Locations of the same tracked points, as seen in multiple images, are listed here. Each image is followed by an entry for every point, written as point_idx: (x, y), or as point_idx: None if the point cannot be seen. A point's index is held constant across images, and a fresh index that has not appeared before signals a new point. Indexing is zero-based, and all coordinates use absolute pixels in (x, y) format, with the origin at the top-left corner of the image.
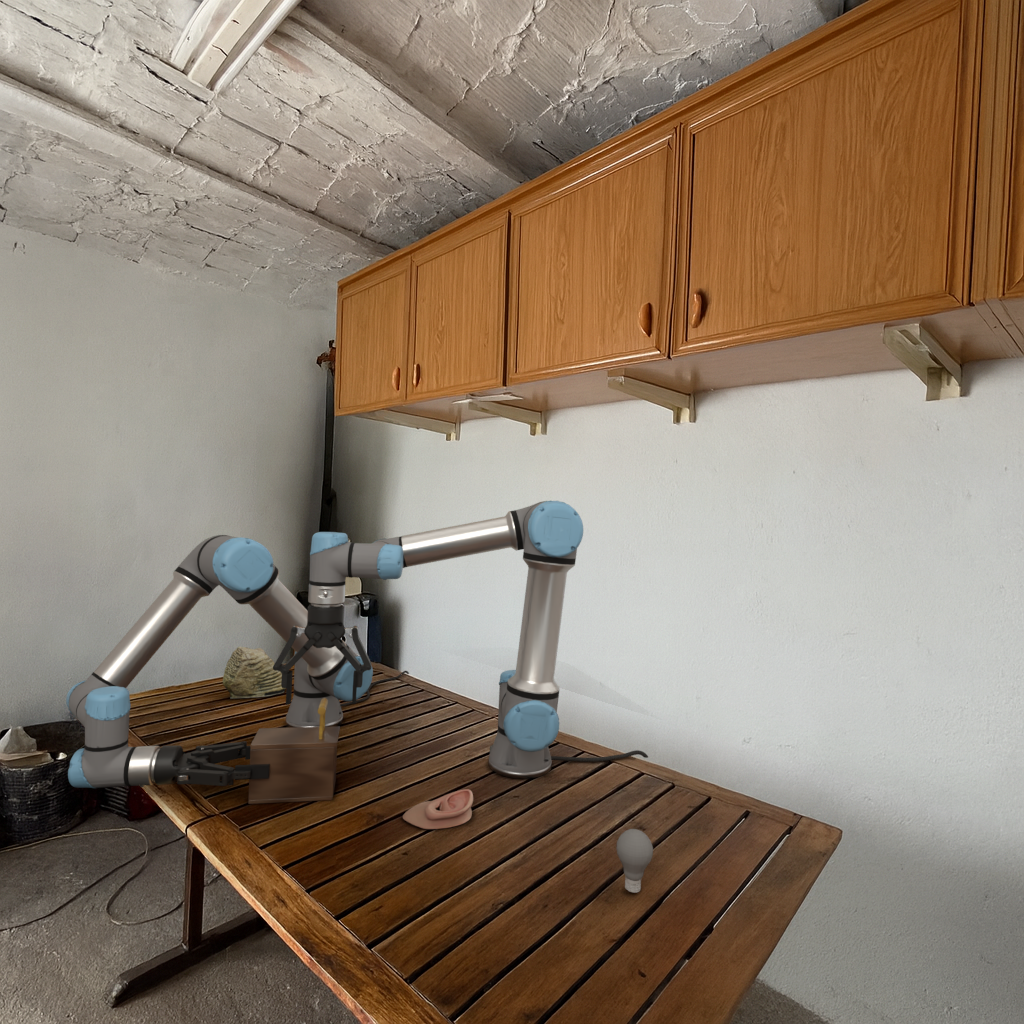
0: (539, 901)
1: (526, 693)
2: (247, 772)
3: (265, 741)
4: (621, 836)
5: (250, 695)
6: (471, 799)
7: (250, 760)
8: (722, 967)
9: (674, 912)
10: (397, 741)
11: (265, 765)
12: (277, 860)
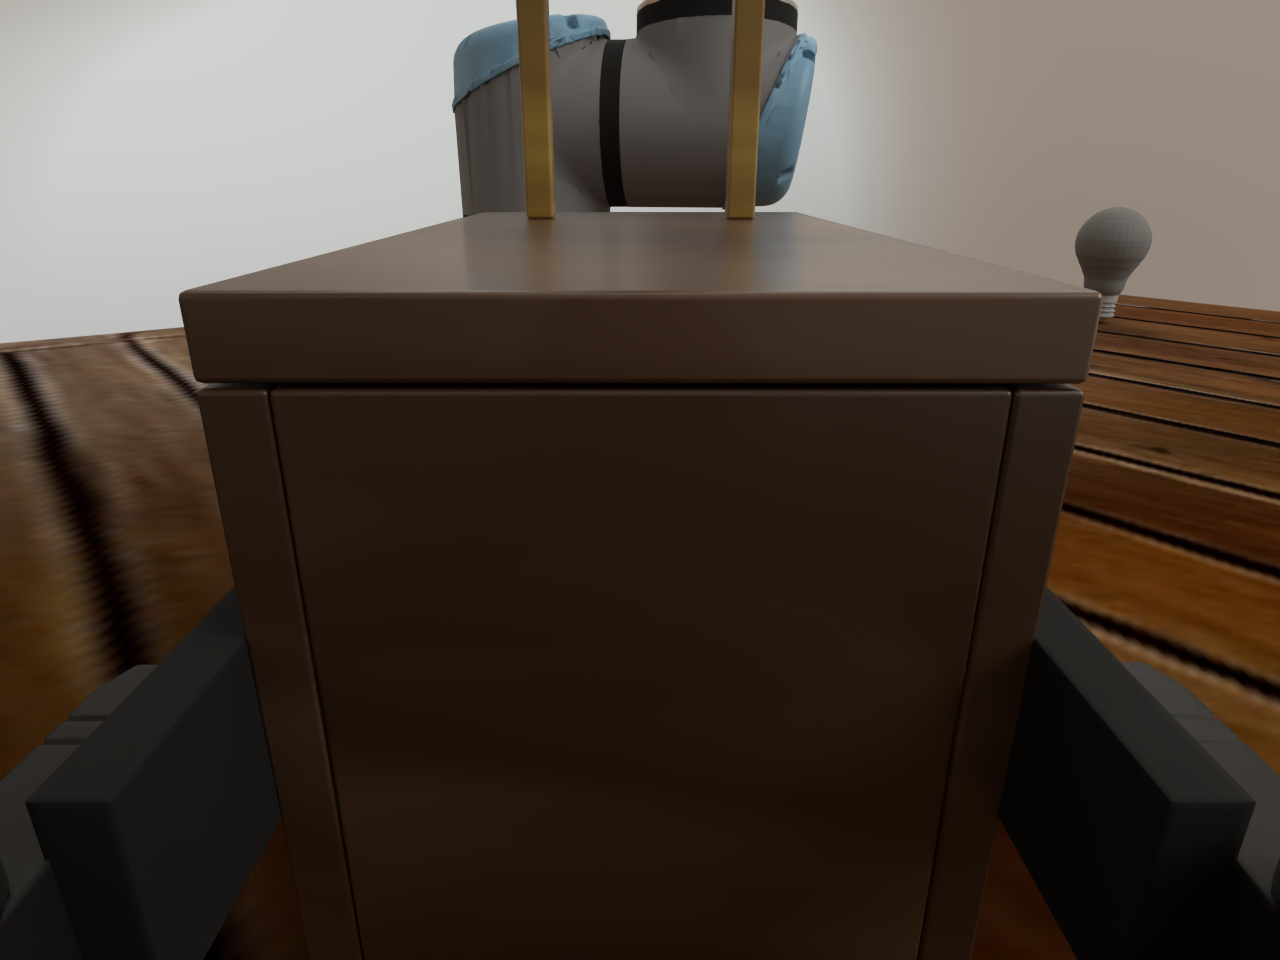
0: (1214, 360)
1: (792, 11)
2: (1179, 697)
3: (872, 264)
4: (1123, 221)
5: None
6: None
7: (1047, 568)
8: (1244, 312)
9: (1131, 314)
10: (123, 451)
11: None
12: None
